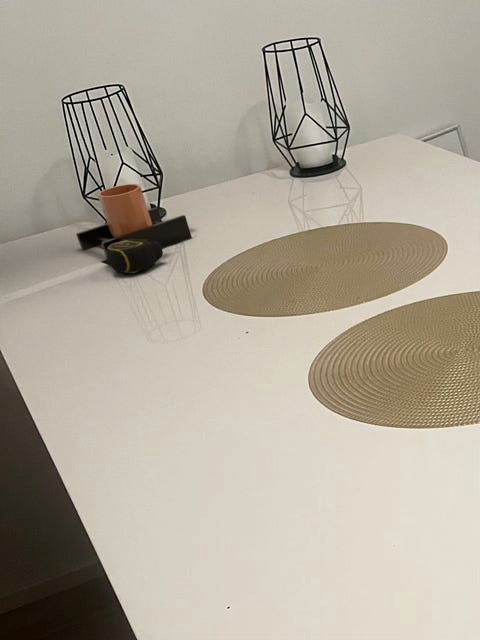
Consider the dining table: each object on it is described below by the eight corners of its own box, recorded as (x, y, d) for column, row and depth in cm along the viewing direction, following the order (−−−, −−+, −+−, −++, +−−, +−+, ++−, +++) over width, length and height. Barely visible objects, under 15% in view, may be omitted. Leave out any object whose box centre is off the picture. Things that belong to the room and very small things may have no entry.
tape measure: (169, 262, 142) (160, 236, 139) (137, 278, 137) (128, 252, 135) (135, 260, 145) (126, 234, 142) (103, 276, 140) (93, 250, 138)
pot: (123, 240, 145) (109, 198, 141) (105, 234, 149) (90, 193, 145) (160, 227, 148) (147, 186, 144) (141, 222, 152) (128, 182, 148)
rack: (111, 266, 144) (103, 243, 142) (84, 255, 150) (75, 233, 148) (192, 238, 150) (185, 215, 148) (162, 229, 156) (155, 207, 154)
